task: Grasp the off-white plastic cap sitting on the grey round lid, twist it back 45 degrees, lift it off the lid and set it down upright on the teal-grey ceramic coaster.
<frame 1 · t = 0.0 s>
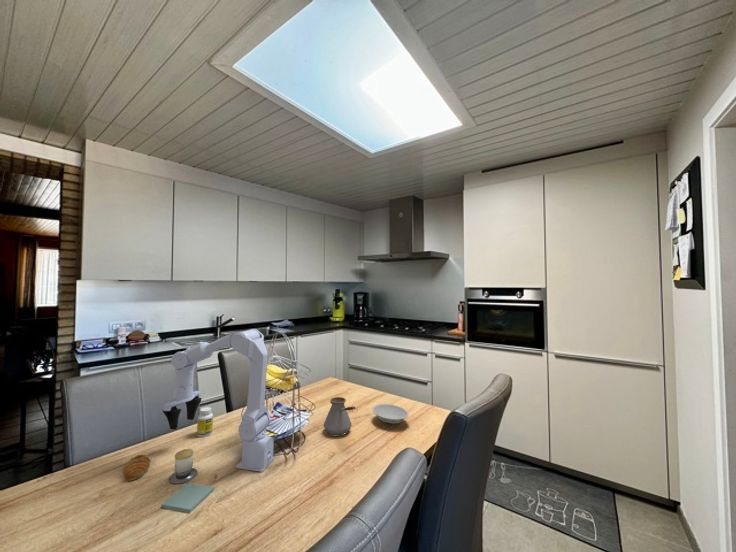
hand: (182, 423, 106), 10 cm above the table, fingers open, 7 cm apart
dish: (390, 423, 133), on the table
coffee pot: (342, 437, 119), on the table
grey round lid: (183, 476, 93), on the table
supplement bottle: (204, 434, 120), on the table
cap: (183, 468, 93), point 2 cm above the table, touching grey round lid
coaster: (188, 498, 83), on the table
pastry: (137, 473, 95), on the table
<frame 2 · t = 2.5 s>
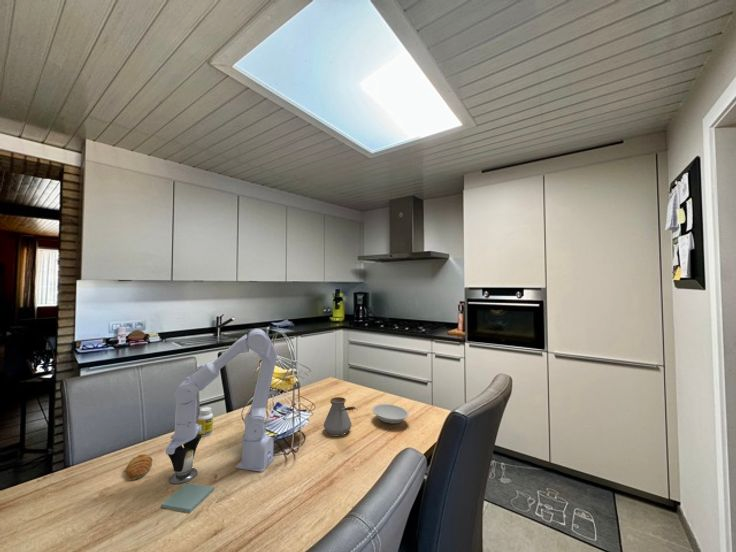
hand: (183, 465, 93), 3 cm above the table, fingers closed on cap, 5 cm apart
cap: (183, 468, 93), point 2 cm above the table, touching gripper, grey round lid
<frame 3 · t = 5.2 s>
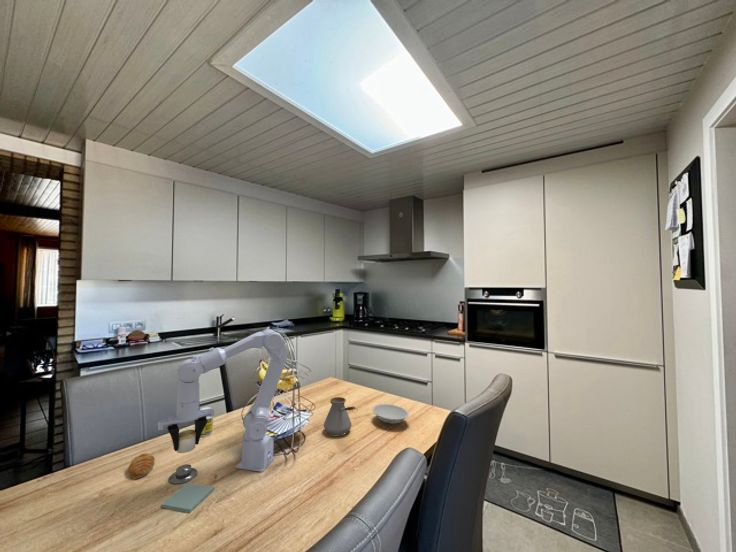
hand: (186, 446, 91), 10 cm above the table, fingers closed on cap, 5 cm apart
cap: (186, 448, 91), point 10 cm above the table, touching gripper
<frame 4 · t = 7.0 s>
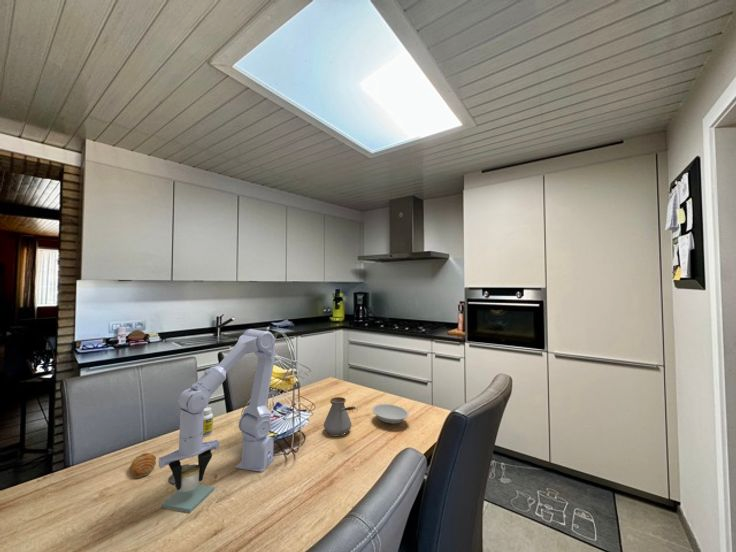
hand: (189, 483, 83), 4 cm above the table, fingers closed on cap, 5 cm apart
cap: (189, 486, 83), point 3 cm above the table, touching gripper
when the fingers open (3 cm above the table, at t = 8.2 s): cap drops 1 cm, resting on coaster.
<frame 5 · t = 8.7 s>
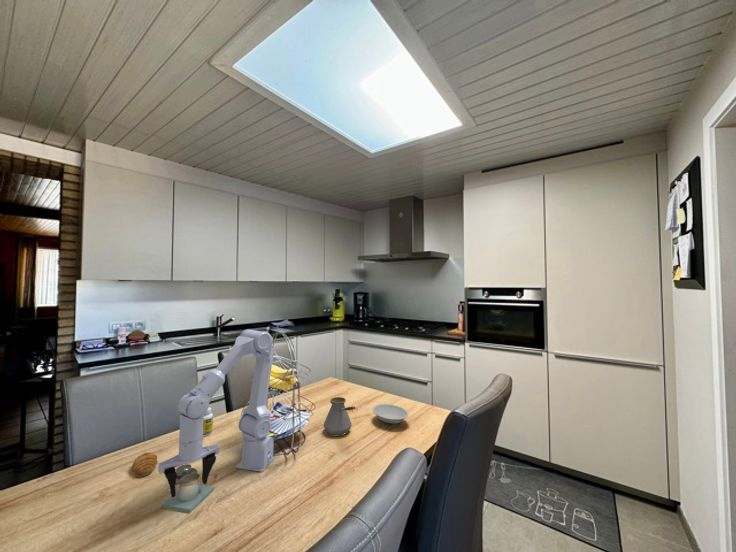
hand: (189, 488, 83), 3 cm above the table, fingers open, 7 cm apart
cap: (188, 495, 83), point 1 cm above the table, touching coaster
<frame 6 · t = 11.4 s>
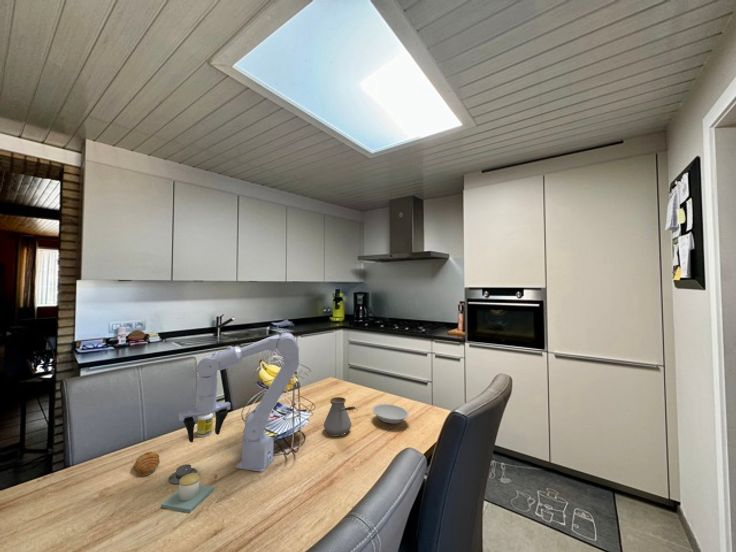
hand: (204, 437, 96), 10 cm above the table, fingers open, 7 cm apart
at the end: cap 0.1 cm from the coaster (horizontally); cap tilted 1°; cap point 0.8 cm above the table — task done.
